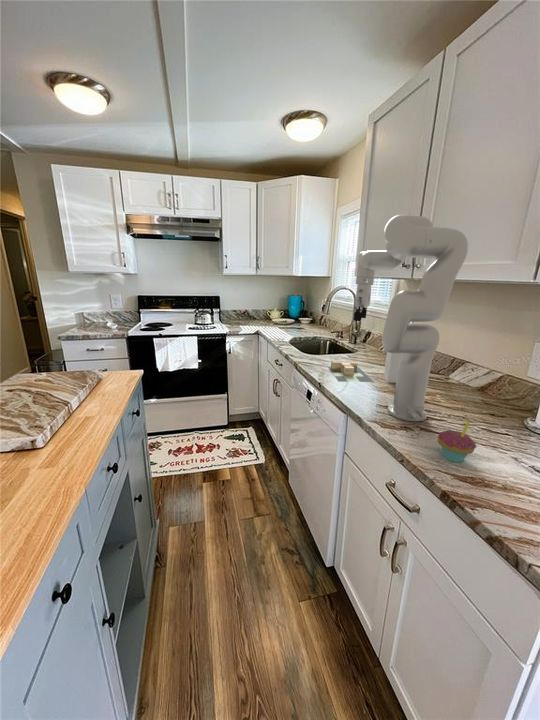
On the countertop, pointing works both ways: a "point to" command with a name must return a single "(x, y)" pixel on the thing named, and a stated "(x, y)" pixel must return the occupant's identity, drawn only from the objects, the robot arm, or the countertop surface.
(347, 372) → the t block
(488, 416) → the countertop surface
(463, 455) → the cupcake
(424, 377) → the robot arm
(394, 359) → the milk carton
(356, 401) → the countertop surface
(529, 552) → the countertop surface
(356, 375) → the board
